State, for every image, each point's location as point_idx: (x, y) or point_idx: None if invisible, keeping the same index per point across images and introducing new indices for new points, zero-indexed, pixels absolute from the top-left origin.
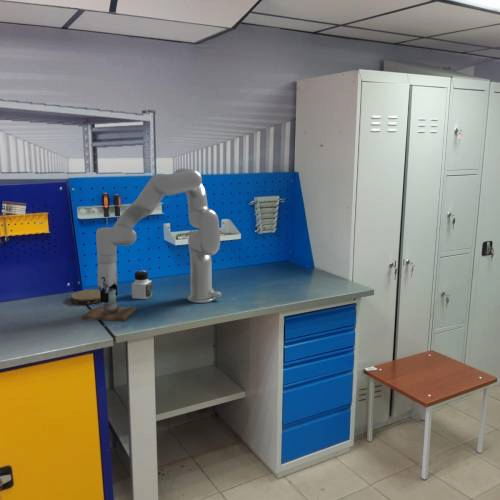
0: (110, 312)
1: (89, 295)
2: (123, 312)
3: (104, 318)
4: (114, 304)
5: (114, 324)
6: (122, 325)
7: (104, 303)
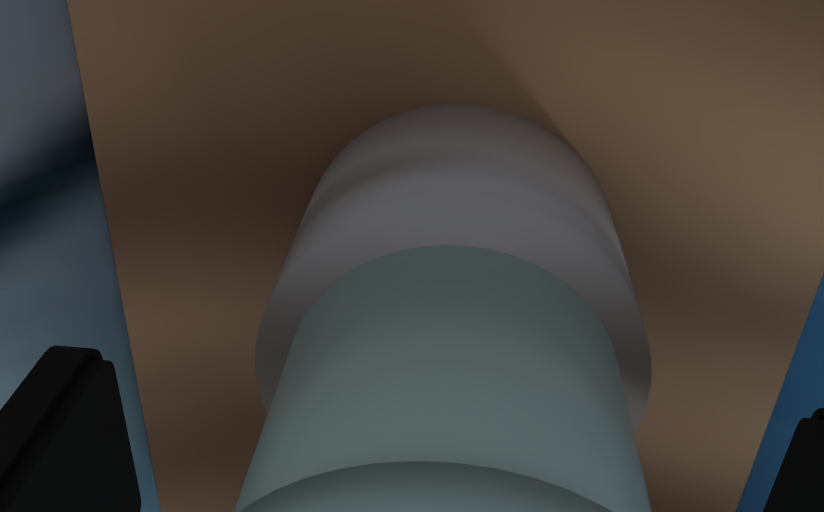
0: None
1: None
2: None
3: (121, 230)
4: None
5: (5, 401)
6: None
7: (313, 304)
